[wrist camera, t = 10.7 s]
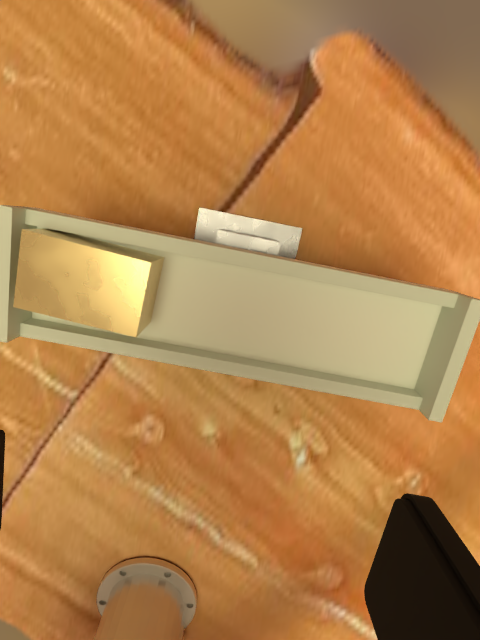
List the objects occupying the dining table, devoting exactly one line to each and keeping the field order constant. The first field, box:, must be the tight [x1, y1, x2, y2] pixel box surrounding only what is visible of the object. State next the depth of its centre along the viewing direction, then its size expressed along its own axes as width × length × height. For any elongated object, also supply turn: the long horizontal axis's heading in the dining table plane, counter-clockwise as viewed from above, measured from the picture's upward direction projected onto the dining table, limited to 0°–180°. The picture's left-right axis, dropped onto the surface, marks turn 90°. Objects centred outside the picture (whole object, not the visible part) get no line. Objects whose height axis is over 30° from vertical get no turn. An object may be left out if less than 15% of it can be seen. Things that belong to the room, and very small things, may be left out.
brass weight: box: [13, 229, 164, 337], centre depth 25 cm, size 8×5×4 cm, turn 75°
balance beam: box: [0, 205, 480, 422], centre depth 29 cm, size 32×9×8 cm, turn 79°
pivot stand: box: [194, 208, 302, 259], centre depth 34 cm, size 10×14×8 cm
